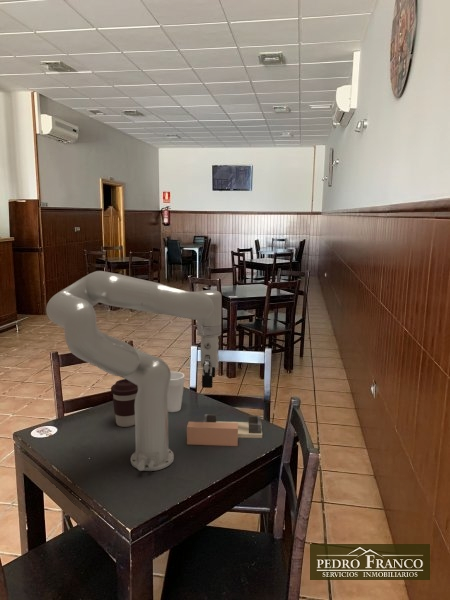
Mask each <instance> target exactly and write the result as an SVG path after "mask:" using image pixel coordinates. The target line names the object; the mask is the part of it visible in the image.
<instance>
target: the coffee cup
mask: <svg viewBox="0 0 450 600" xmlns="http://www.w3.org/2000/svg"><path fill="white" fill-rule="evenodd" d="M137 392H138V386H137V385H135V384H134V383H132V382H130V381H128V380H126V379H124V378H122V379H119V380H117V381H115V383H114V384H112V385H111V387H110V393H111V394H112V395H113V396H112V402H113V403H112V404H113V410H114V411H113V412H114V414H115V422H116V425H117V427H122V428H129V427H133V426H135V408H134V405H135V398H136V395H137Z"/></svg>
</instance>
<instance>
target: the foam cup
mask: <svg viewBox="0 0 450 600" xmlns="http://www.w3.org/2000/svg"><path fill="white" fill-rule="evenodd" d="M170 372H171V378H170V384H169V390H168V413H176V412H179V411H180V410H181V408H182V402H183V393H184V387H185V381H186V379H185V375H186V374H185V373H183V372H180V371H170Z"/></svg>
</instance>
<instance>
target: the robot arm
mask: <svg viewBox="0 0 450 600" xmlns="http://www.w3.org/2000/svg"><path fill="white" fill-rule="evenodd" d="M222 297H223V296H222V293H221V291H218V290H212V289H211V290H210V289H207V290H204V289H203V290H201V291H187V290H183V289H179V288H175V287H172V286H169V285H166V284H162V283H160V282H155V281H152V280H151V281H150V280H146V279H141V278H138V277H137V278H136V277H132V276H129V275H124V274H120V273H115V272H114V273H113V272H109V271H105V270H104V271H103V270H96V271H93V272H91V273H89V274H87V275H85V276H83V277H81V278H80V279H78V280H76V281H75V282H73V283H72V284H70V285H68V286H67V287H65V288H63V289H61V290H60V291H58V292H57V293H56V294H54V295H53V296H52V297H51V298H50V299H49V301H48V302H47V304H46V307H45V308H46V310H45V311H46V315H47V317H48V319H49V320H50V321H51V323H52V324H55V325H56V326H58V327H61V328H63V329H64V338H65V342H66V343H65V344H66V346H67V348H68V350H69V352H70V353H71V355H74V356H75V357H76V358H77V359H80V360H82V361H83V362H86V363H89V364H90V365H92V366H94V367H97V368H98V369H99V370H102V371H103V372H105V373H107V374H109V375H113V376H116V377H120V378H122V379H126V380H128V381H130V382H132V383H134V384H135V385H137V386H138V392H137V395H136V398H135V405H134V408H135V425H134V431H135V433H134V434H135V435H134V436H135V451H134V452H133V453H132V454H131V455H130V464H131V465H132V467H133V468H135V469H137V470H138V471H139V472H142V471H145V472H152V471H159V470H162V469H165V468H167V467H169V466H170V465H172V464H173V462H174V460H175V454H174V452H173V451H172V450H171V449H170V448H169V412H168V390H169V384H170V378H171V372H172V371H171V369H170V367H169V365H168V364H167V362H165V361H164V360H163V359H161V358H159V357H158V356H156V355H153V354H150V353H148V352H146V351H142V350H141V349H138V348H136V347H134V346H132V345H131V344H130V343H127V342H126V341H124V340H122V339H119V338H117V337H115V336H111V335H108V334H107V333H105V332H103V331H101V330H100V329H99V328H98V325H97V323H98V322H97V313H96V310H95V309H94V306H96V305H97V304H98V303H100V304H103V305H106V306H111V307H117V308H122V309H129V310H130V309H131V310H136V311H139V312H140V311H141V312H147V313H151V314H157V315H163V316H164V315H165V316H171V317H172V316H173V317H178V318H182V319H188V320H195V321H197V322H196V323H197V325H196V326H197V327H196V328H197V329H196V335H197V336H199V337H200V366H201V368H202V375H201V388H203V389H204V388H205V389H212V388H213V381H214V380H213V378H215V377H216V369H217V367H218V364H219V357H220V356H219V336H221V335H222Z"/></svg>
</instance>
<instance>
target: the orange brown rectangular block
mask: <svg viewBox="0 0 450 600" xmlns="http://www.w3.org/2000/svg"><path fill="white" fill-rule="evenodd" d="M238 440H239V438H238V423H216V422H203V421H188V423H187V426H186V444H187V445H198V446H200V445H201V446H224V447H226V446H227V447H229V446H231V447H238V444H239V443H238Z"/></svg>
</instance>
